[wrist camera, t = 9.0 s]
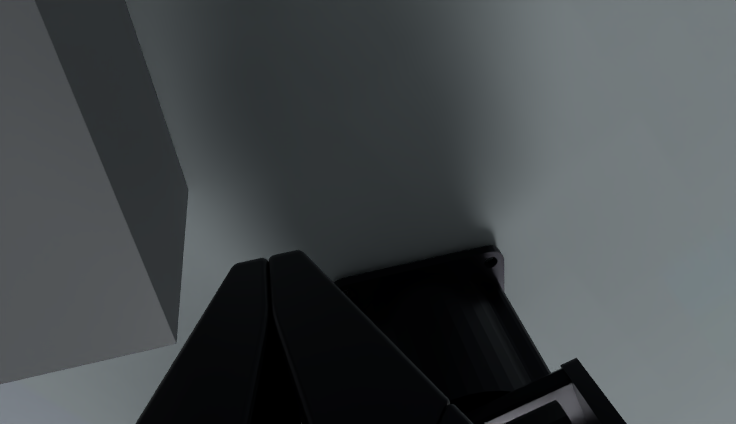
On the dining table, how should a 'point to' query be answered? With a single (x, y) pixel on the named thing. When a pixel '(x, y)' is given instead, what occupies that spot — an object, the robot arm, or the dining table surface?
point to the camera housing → (83, 191)
